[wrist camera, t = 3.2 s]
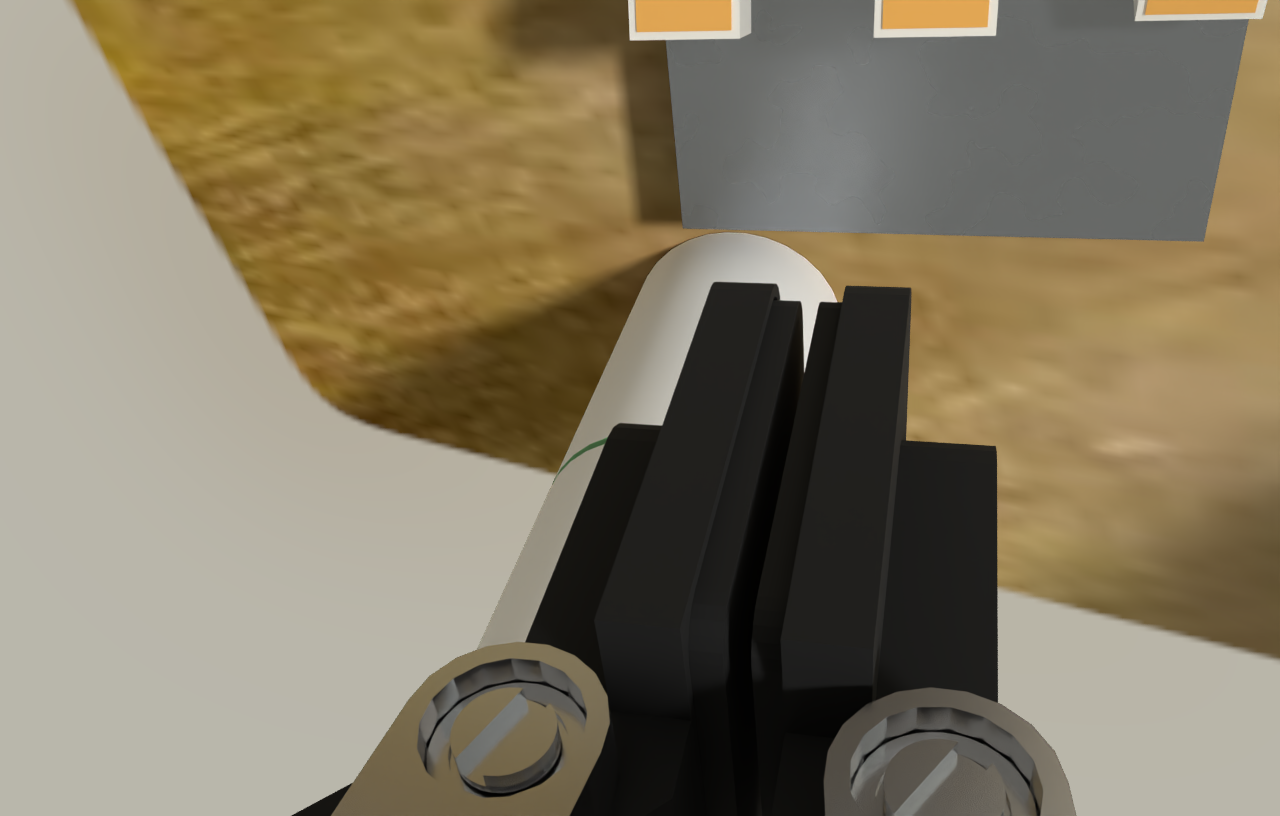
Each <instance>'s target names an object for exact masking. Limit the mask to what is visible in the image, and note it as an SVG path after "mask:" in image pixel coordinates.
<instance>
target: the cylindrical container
mask: <svg viewBox="0 0 1280 816" xmlns="http://www.w3.org/2000/svg"><path fill="white" fill-rule="evenodd" d="M714 282H742V283H774V284H777V285H778V287H779V293H780V300H785V301H801V304H802V311H803V342H804V372H805V368H806V363H807V358H808V353H809V349H810V344H811V339H812V334H813V330H814V325H815V320H816V316H817V311H818V306H819V303H820V302H837V300H836V298H835V295H834V293H833V290H832V288H831V287H830V286H829V284H828V283H827V281H826V280H825V278H824V277H823V276H822V274H821V273H820V272H819V271H818V270H817V269H816V268H815V267H814V266H813V265H812V264H811V263H810V262H809V261H808V260H807V259H806V258H804V257H803V256H801V255H800V254H798V253H797V252H795V251H793V250H792V249H790V248H789V247H787V246H785V245H783V244H780V243H778V242H775V241H773V240H770V239H768V238H765V237H761V236H756V235H751V234H747V233H731V232H724V233H715V234H707V235H704V236H700V237H697V238H694V239H691V240H688V241H686V242H684V243H682V244H680V245H679V246H677V247H675V248H673V249H671V250H670V251H669V252H668V253H667V254H666V255H665V256H663V257H662V258H661V259H660V260H659V261H658V262H657V263H656V264H655V266H654V267H653V269H652V270H651V272H650V273H649V274H648V276H647V278H646V280H645V282H644V284H643V286H642V289H641V291H640V293H639V295H638V297H637V300H636V302H635V304H634V306H633V308H632V311H631V313H630V315H629V317H628V319H627V322H626V324H625V326H624V328H623V330H622V332H621V335H620V337H619V339H618V341H617V343H616V346H615V348H614V350H613V352H612V354H611V357H610V359H609V361H608V363H607V365H606V368H605V370H604V372H603V374H602V376H601V378H600V381H599V383H598V385H597V387H596V389H595V392H594V394H593V396H592V398H591V400H590V403H589V405H588V407H587V409H586V411H585V414H584V416H583V418H582V420H581V422H580V425H579V427H578V429H577V431H576V433H575V435H574V438H573V440H572V442H571V444H570V446H569V449H568V451H567V453H566V455H565V457H564V460H563V462H562V464H561V466H560V468H559V471H558V473H557V475H556V477H555V479H554V481H553V484H552V487H551V488H550V491H549V493H548V495H547V497H546V499H545V501H544V504H543V506H542V508H541V510H540V512H539V514H538V517H537V519H536V521H535V523H534V525H533V528H532V530H531V532H530V534H529V536H528V539H527V541H526V543H525V545H524V548H523V550H522V552H521V554H520V556H519V558H518V560H517V563H516V565H515V567H514V569H513V571H512V574H511V576H510V578H509V580H508V583H507V585H506V587H505V589H504V591H503V593H502V595H501V598H500V600H499V602H498V604H497V606H496V609H495V611H494V613H493V615H492V617H491V620H490V622H489V624H488V626H487V629H486V631H485V633H484V635H483V637H482V640H481V642H480V644H479V646H478V648H477V650H478V649H481V648H483V647H486V646H491V645H498V644H505V643H513V642H525V641H526V638H527V636H528V633H529V631H530V628H531V626H532V623H533V621H534V618H535V616H536V613H537V611H538V609H539V606H540V604H541V601H542V599H543V596H544V594H545V591H546V589H547V586H548V584H549V581H550V579H551V576H552V574H553V571H554V569H555V566H556V564H557V561H558V559H559V556H560V554H561V551H562V549H563V546H564V544H565V542H566V539H567V537H568V534H569V532H570V529H571V527H572V524H573V522H574V519H575V517H576V514H577V512H578V509H579V507H580V504H581V502H582V499H583V497H584V494H585V492H586V489H587V487H588V484H589V482H590V479H591V477H592V475H593V472H594V470H595V467H596V465H597V462H598V460H599V457H600V455H601V452H602V450H603V447H604V445H605V442H606V440H607V438H608V436H609V434H610V432H611V430H612V428H613V427H614V426H616V425H617V424H618V423H630V424H646V425H663V422H664V419H665V416H666V413H667V410H668V407H669V405H670V402H671V399H672V396H673V393H674V390H675V387H676V385H677V382H678V379H679V376H680V373H681V370H682V367H683V365H684V362H685V359H686V356H687V353H688V350H689V347H690V345H691V342H692V339H693V336H694V333H695V330H696V327H697V325H698V322H699V319H700V316H701V313H702V310H703V307H704V305H705V302H706V299H707V296H708V293H709V290H710V288H711V286H712V284H713V283H714Z"/></svg>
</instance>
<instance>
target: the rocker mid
mask: <svg viewBox="0 0 1280 816" xmlns="http://www.w3.org/2000/svg"><path fill="white" fill-rule="evenodd" d="M997 14H998V0H875V12H874V38H891V37H954V36H996V28H997Z"/></svg>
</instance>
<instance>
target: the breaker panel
mask: <svg viewBox="0 0 1280 816" xmlns="http://www.w3.org/2000/svg"><path fill="white" fill-rule="evenodd" d="M874 12H875V0H751V33H750V34H748V35H746V36H744V37H742V38H740V39H689V40H666V48H667V59H668V70H669V81H670V92H671V103H672V114H673V125H674V136H675V147H676V158H677V169H678V180H679V191H680V202H681V213H682V223H683V228H687V229H727V230H767V231H807V232H847V233H887V234H927V235H966V236H1006V237H1046V238H1086V239H1126V240H1166V241H1204V237H1205V232H1206V227H1207V222H1208V217H1209V213H1210V208H1211V203H1212V198H1213V193H1214V188H1215V183H1216V178H1217V173H1218V168H1219V163H1220V158H1221V153H1222V148H1223V144H1224V139H1225V134H1226V129H1227V124H1228V119H1229V114H1230V109H1231V104H1232V99H1233V94H1234V89H1235V84H1236V79H1237V75H1238V70H1239V65H1240V60H1241V55H1242V50H1243V45H1244V40H1245V35H1246V30H1247V25H1248V20H1249V19H1223V20H1168V21H1135V18H1134V3H1133V0H998V14H997V28H996V36H954V37H891V38H874Z"/></svg>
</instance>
